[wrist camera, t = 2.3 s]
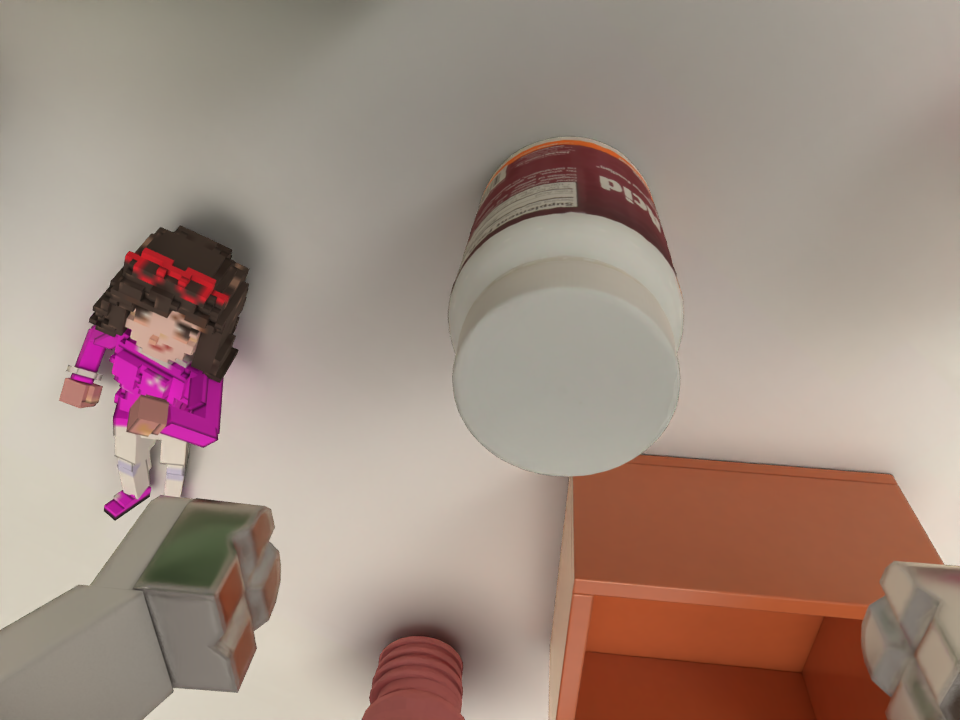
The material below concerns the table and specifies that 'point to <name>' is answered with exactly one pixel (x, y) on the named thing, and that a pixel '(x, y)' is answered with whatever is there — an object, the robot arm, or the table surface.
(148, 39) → the table surface
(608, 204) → the pill bottle
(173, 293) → the character figurine
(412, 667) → the light bulb
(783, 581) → the terracotta bin
